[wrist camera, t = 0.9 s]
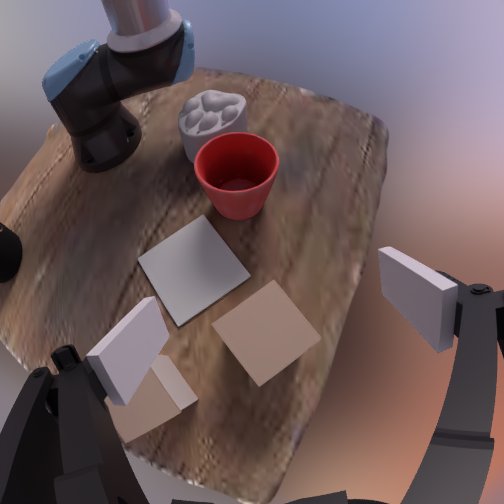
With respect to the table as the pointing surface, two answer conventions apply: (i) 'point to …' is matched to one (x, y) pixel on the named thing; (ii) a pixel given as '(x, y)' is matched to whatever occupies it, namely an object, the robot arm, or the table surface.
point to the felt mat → (192, 269)
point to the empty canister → (266, 332)
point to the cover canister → (152, 400)
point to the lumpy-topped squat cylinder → (210, 119)
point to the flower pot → (237, 173)
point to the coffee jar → (9, 253)
